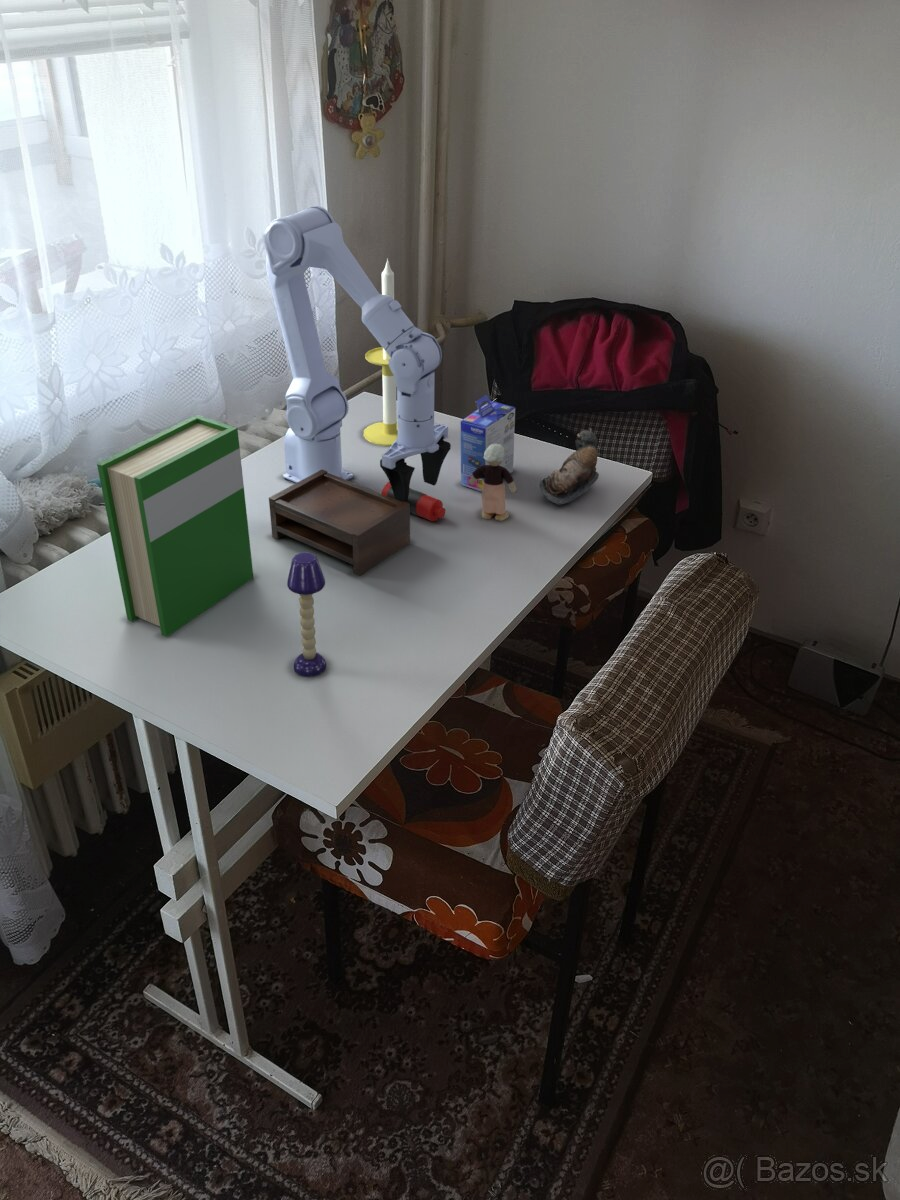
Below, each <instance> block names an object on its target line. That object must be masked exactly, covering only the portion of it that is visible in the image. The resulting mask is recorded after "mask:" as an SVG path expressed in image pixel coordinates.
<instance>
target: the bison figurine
mask: <svg viewBox="0 0 900 1200" xmlns="http://www.w3.org/2000/svg"><path fill="white" fill-rule="evenodd" d="M576 437H577V438H576V439H575V441H574V444H575V449H576V450H575V451H574V452H573V453H571V454H570V455H569V456H568V457H567V458H566V459H565V460H564V461H563V463H562V465H561V467H560V468H559V469H555V470H554V471H552V473H551V475H548V476H547V477H543V478H542V480H540V481H539V488H540V491H541V492H542V493H543V495H544V497H545V498H546V499H547V500H548V501H549V502H551V503H554V504H556V505H558V506H561V505H564V504H570V503H571V502H572V501H574V500H576V499H577V498H578V497H580V496H582V495H583V494H585V492H587V491H588V490H589V489H590V488H591V487H592V486H594V484H596V482H597V481H598V479H599V476H600V473H599V472H598V471H597V464H598V455H599V453H598V451H597V447H598V438H597V435H596V434H595V433H594V432H593V430H592V428H591V427H589V430H587V429H583V430H581V431H580V432H578V433H576Z"/></svg>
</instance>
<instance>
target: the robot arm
mask: <svg viewBox="0 0 900 1200" xmlns="http://www.w3.org/2000/svg"><path fill="white" fill-rule="evenodd" d="M262 239H263V243H264V247H265V251H266V257H265V270H266V275H267V279H268V282H269V283H268V284H269V287H270V291H271V295H272V299H273V302H274V307H275V311H276V315H277V319H278V323H279V327H280V331H281V334H282V339H283V343H284V347H285V351H286V356H287V358H288V363H289V366H290V371H291V375H292V381H291V383H290V385H289V387H288V389H287V391H286V393H285V396H284V397H285V402H286V412H285V414H286V415H285V418H286V423H287V425H288V427H289V428H288V429H287V431H286V433H285V436H284V440H283V448H284V449H283V450H284V461H285V473H283V474H282V478H284V479H286V480H289V481H291V482H294V483H297V482H299V481H301V480H303V479H305V478H307V477H309V476H310V475H312V474H314V473H316V472H318V471H320V470H322V469H323V470H325V471H327V472H328V473H330V474H332V475H335V476H337V477H340V478H343V479H345V480H348V481H349V480H350V479H352V478H353V477H354V473H352V472H350V471H347V470H344V469H343V457H342V456H343V455H342V436H341V435H342V433H341V428H342V426H343V420H344V419H345V418H346V417H347V415H348V413H349V408H350V407H349V401H348V398H347V396H346V395H345V393H344V391H343V390H342V388H341V385H340V382H339V381H340V380H339V378H338V377H336V376H335V375H333V374H332V373H330V372H328V371H327V367H326V363H325V359H324V355H323V351H322V347H321V343H320V338H319V334H318V330H317V325H316V320H315V317H314V312H313V309H312V308H313V307H312V304H311V300H310V296H309V291H308V287H307V283H306V279H305V273H306V272H307V270H308V268H315V269H316V268H317V269H324V270H326V271H327V272H328V273H329V275H330V276H331V277H332V278H333V279H334V280H335V281H336V283H338V284H339V286H340V287H341V288H342V289H343V290H344V292H346V293H347V295H349V296H350V298H351V299H352V300H353V301H354V302H355V303H356V304H357V305H358V306H359V308H360V309H361V323H363V325H364V326H365V328H367V330H368V331H369V333H370V334H371V335H372V336H373V337H374V339H375V340H376V341H377V342H378V344H379V345H380V347H383V348H384V350H385V351H386V352H387V353H388V355H389V356H390V357H391V359H390V360H388V362H389V367H390V370H391V372H392V374H393V375H394V377H395V380H396V417H397V422H398V438H397V439H396V440H395V442H394V443H393V444H392V446H389V448H388V449H387V451H385V452H384V453H383V454H381V459H380V460H379V467H380V468H381V469H382V471H383V472H384V474H385V475H386V478H387V480H388V482H390V484H391V487H392V490H393V493H394V497H395V499H396V500H398V501H401V502H407V501H408V498H409V488H410V487H411V486H410V484H411V480H412V477H413V474H414V472H415V469H416V468H415V467H413V466H411V465H407V462H406V459H407V458H409V457H413V456H417V455H420V458H421V466H422V467H421V468H422V478H423V482H424V483H426V484H428V485H430V486H431V485H432V486H436V485H437V483H438V480H439V477H440V473H441V470H442V466H443V463H444V461H445V459H446V457H447V455H448V453H450V450H451V448H452V447H451V443H450V442H448V441H446V439H447V438H448V437H449V426H447V425H444V424H442V423H437V424H435V381H436V380H435V377H436V376H435V374H436V373H435V371H434V370H435V369H437V368H438V367H439V366H440V364H441V362H442V360H443V359H442V358H443V351H442V348H441V346H440V344H439V342H438V341H437V339H436V337H435V336H434V335H432V334H430V333H429V332H424V331H422V330H421V328H418V327H416V326H415V325H414V323H413V322H412V321H411V319H410V318H409V317H408V316H407V315H406V313H405V312H404V311H403V310H402V305H401V304H400V302H399V301H398V300H397V299H395V298H394V299H393V298H392V297H391V296H387V295H382V293H380V292H379V291H378V290H377V288H376V286H375V285H374V284H373V282H372V281H371V279H370V278H369V277H368V275H367V274H366V272H365V271H364V269H363V268H362V266H361V265H360V264H359V262H358V261H357V259H356V258H355V256H354V255H353V253H352V252H351V251H350V249H349V247H348V246H347V244H346V243H345V241H344V236H343V230H342V226H340V225H339V224H338V223H337V222H336V221H335V220H334V217H333V216H332V213H330V212H329V211H328V210H327V209H326V208H325V207H322V206H320V205H311V206H309V207H307V208H306V209H304V210H301V211H298V212H295V213H292V214H289V215H286V216H283V217H276V218H275V219H273V220H272V221H271V222H270V223H269V224H268V226H267V228H266V229H265V231H264V232H263V234H262Z"/></svg>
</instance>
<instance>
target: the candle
mask: <svg viewBox="0 0 900 1200" xmlns="http://www.w3.org/2000/svg"><path fill="white" fill-rule="evenodd" d="M381 294H382V295H387V296H391V297H392V298H393V299H394V300H395V273H394V271H393V270H392V268H391V265H390V261H389V258H388V257H387V258H386V262H385V266H384V269H383V271H381ZM364 357H365V360H366V361H367V362H368V363H370V364H372V365H374V366H381V369H382V370H381V371H382V373H381V375H382V421H380V422H375V423H372V424H370V425H368V426H367V427H366V428H365V429H364V430H363V438H364V439H365V440H366V441H367V442H369V443H371V444H373V445H375V446H381V447H391V446H392V444H393V443H394V442H395V440H396V439H397V438H398V421H397V387H396V380H395V377H394V375H393V374H392V372H391V370H390V367H389V362H388V360H390V359H391V357H390V356H389V355H388V353H387V352H386V351H385V350H384V348H383V347H382V346H379V347H374V348H372V349H370V350H367V352H366V353H365V355H364Z"/></svg>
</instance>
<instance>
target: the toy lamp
mask: <svg viewBox="0 0 900 1200" xmlns="http://www.w3.org/2000/svg"><path fill="white" fill-rule="evenodd" d="M319 561H320V560H319V559H318V557H317V555H315V554H314V553H312V552H308V551H305V552H304V551H303V552H299V553H297V554H295V555H294V556H293V558H292V559H291V563H290V568H289V572H288V577H287V581H286V582H287V583H286V585H287V588H288V590H289V591H291V592H292V593H294V594H295V595H296V594H297V595H299V599H298V600H299V601H298V603H299V606H300V608H299V614H300V626H301V630H300V635H301V636H302V639H301V645H302V653H300V654H299V655H298V656H296V658H295V660H294V663H293V670H294V672H295V673H296V674H297V675H299V676H302V677H307V678H311V677H316V676H319V675H321V674H323V673H325V671H326V670H327V662H326V659H325V658H324V656H323V655H322V654H321V653H319V652H317V647H316V645H317V641H316V636H315V635H316V627H315V617H314V615H315V609H314V601H315V599H314V596H313V595H314V594H317V593H319V592H321V591H322V590H323V589H324V587H325V585H326V580H325V576H324V573H323V570H322V567H321V565H320V562H319Z"/></svg>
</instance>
